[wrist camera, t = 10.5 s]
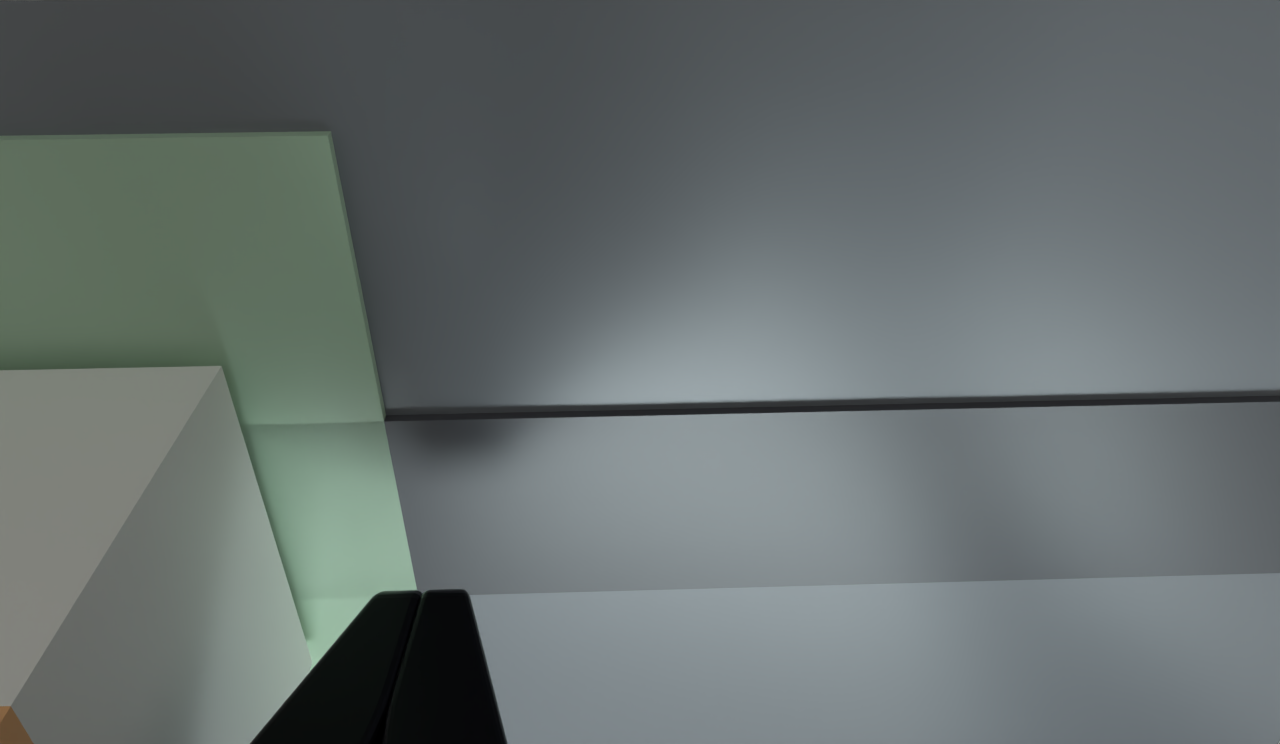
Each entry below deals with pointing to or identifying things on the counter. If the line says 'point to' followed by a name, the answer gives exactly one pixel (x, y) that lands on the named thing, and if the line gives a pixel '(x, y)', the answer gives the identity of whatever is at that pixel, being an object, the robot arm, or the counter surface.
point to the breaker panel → (710, 338)
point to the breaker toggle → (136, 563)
